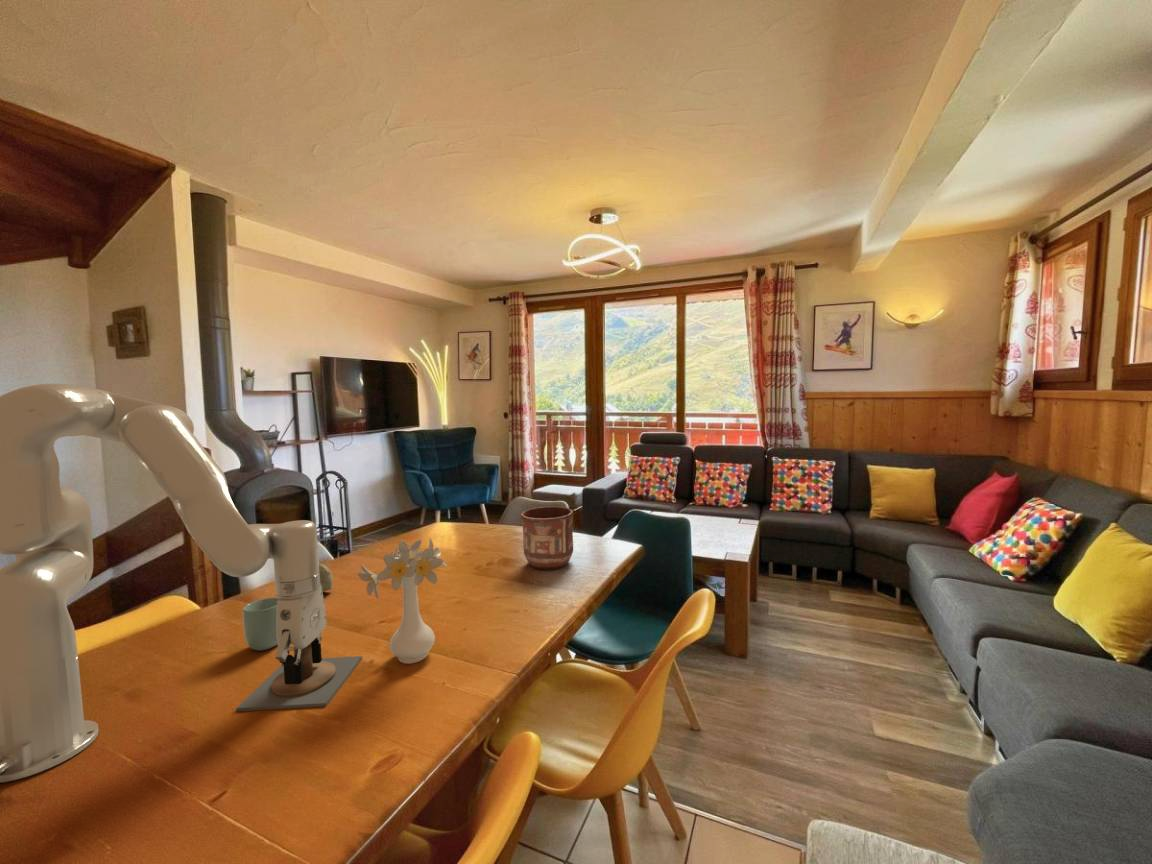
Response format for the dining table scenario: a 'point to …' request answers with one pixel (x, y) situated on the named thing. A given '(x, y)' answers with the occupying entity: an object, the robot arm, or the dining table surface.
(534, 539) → the pottery
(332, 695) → the mat
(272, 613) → the cup
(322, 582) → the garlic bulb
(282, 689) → the lid
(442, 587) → the dining table surface
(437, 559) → the flower vase
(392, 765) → the dining table surface
